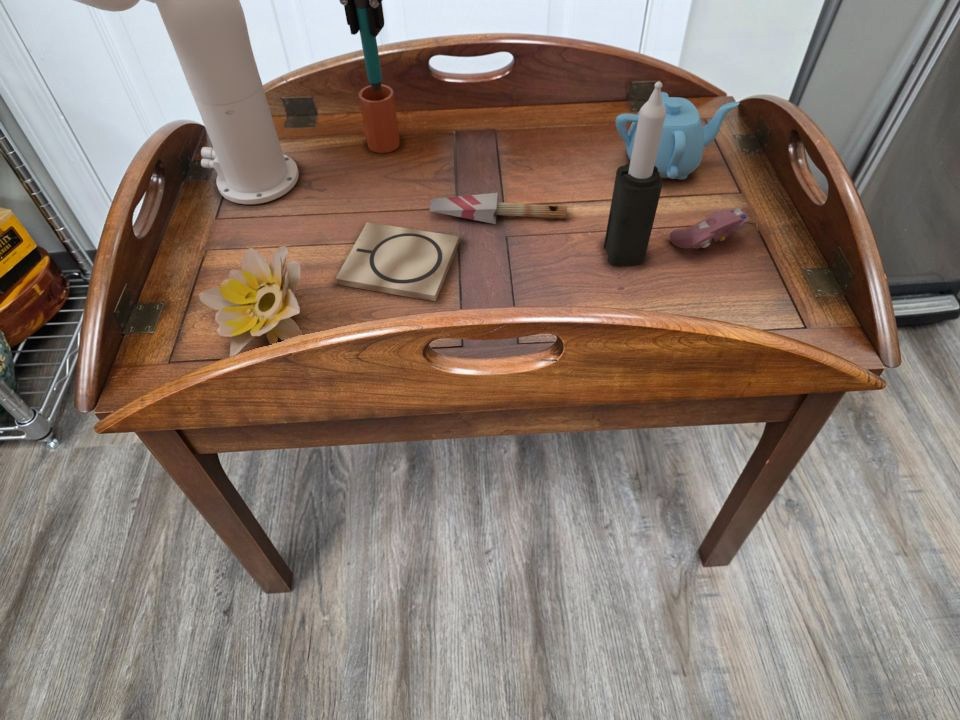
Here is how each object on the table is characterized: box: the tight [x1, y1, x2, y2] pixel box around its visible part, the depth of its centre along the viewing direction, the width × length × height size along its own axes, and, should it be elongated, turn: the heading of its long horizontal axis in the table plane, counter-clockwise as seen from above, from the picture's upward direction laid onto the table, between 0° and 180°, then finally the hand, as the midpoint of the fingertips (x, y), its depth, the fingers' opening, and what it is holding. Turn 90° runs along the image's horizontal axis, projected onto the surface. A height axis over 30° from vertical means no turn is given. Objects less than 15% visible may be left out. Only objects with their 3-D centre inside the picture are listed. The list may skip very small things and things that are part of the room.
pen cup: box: [358, 83, 401, 154], centre depth 105 cm, size 5×6×9 cm
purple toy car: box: [669, 207, 751, 250], centre depth 89 cm, size 10×5×7 cm, turn 117°
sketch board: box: [335, 221, 461, 302], centre depth 90 cm, size 14×12×1 cm
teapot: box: [615, 91, 740, 180], centre depth 99 cm, size 13×14×11 cm
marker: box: [354, 0, 383, 91], centre depth 96 cm, size 2×2×14 cm
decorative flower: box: [198, 245, 303, 358], centre depth 80 cm, size 15×11×10 cm
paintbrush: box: [429, 192, 568, 225], centre depth 95 cm, size 4×3×20 cm
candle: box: [603, 80, 666, 267], centre depth 81 cm, size 5×5×25 cm
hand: (367, 30), depth 94 cm, fingers closed on marker, 2 cm apart
